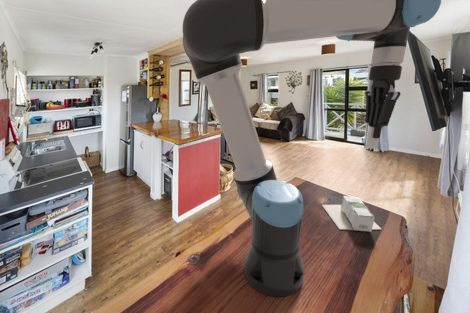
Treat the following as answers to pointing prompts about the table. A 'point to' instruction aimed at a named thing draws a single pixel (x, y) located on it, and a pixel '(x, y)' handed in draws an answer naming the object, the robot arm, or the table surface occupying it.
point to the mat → (341, 218)
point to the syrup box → (357, 213)
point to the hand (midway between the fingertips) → (371, 147)
